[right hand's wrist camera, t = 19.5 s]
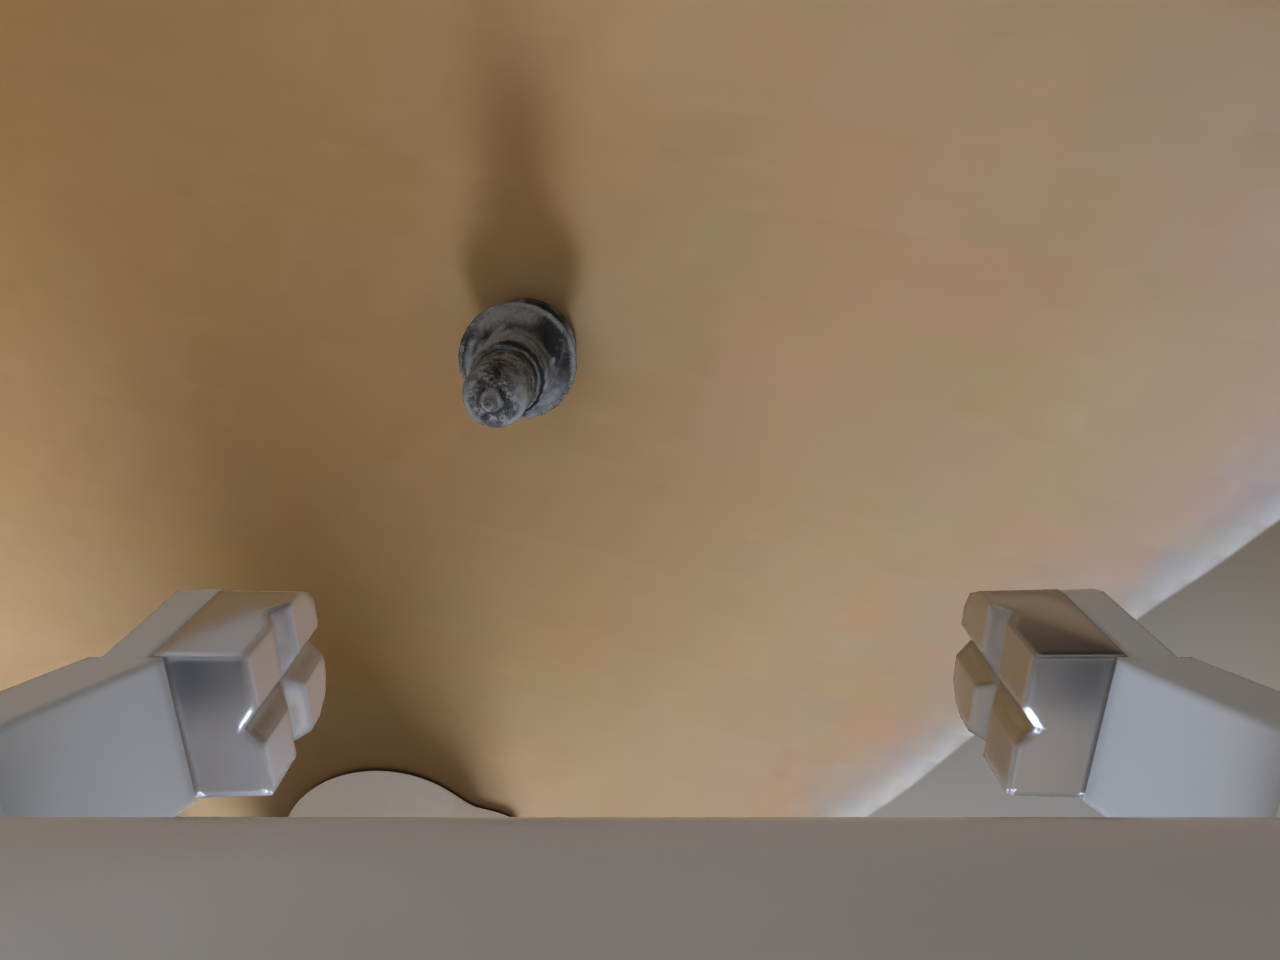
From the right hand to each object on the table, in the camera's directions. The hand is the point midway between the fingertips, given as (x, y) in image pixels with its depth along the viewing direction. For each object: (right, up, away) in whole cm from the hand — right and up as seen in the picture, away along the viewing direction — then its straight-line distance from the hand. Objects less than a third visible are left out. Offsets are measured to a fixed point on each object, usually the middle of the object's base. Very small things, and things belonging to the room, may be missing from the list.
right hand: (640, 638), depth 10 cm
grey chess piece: (-6, +9, +34) cm, 35 cm away
